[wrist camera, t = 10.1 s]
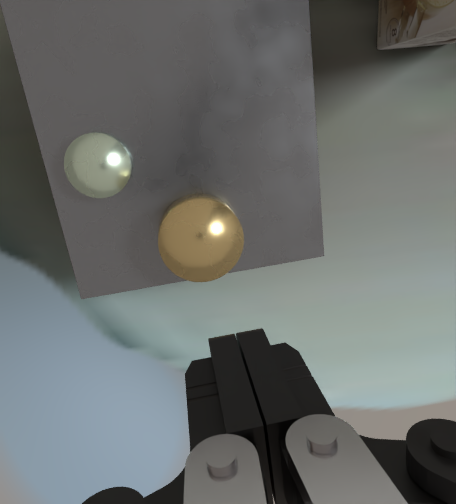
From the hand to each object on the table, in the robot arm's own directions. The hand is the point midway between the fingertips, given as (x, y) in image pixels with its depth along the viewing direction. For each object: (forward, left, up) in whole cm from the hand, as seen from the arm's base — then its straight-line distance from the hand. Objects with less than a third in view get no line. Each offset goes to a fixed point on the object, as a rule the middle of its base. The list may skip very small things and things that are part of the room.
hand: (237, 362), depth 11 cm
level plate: (-7, 0, -17) cm, 18 cm away
